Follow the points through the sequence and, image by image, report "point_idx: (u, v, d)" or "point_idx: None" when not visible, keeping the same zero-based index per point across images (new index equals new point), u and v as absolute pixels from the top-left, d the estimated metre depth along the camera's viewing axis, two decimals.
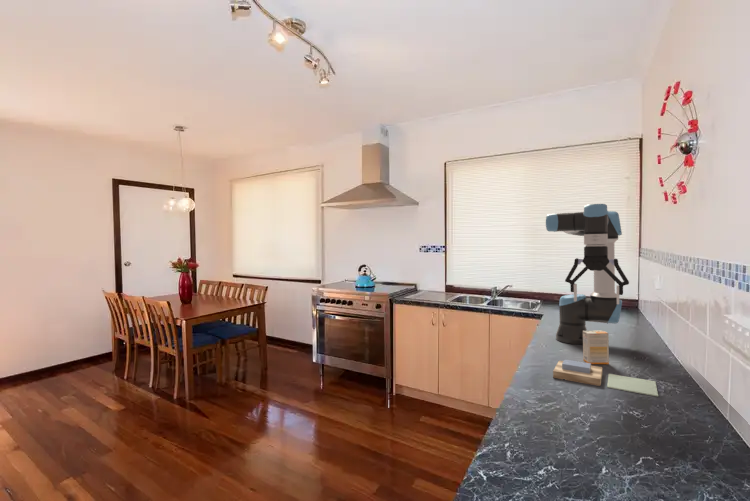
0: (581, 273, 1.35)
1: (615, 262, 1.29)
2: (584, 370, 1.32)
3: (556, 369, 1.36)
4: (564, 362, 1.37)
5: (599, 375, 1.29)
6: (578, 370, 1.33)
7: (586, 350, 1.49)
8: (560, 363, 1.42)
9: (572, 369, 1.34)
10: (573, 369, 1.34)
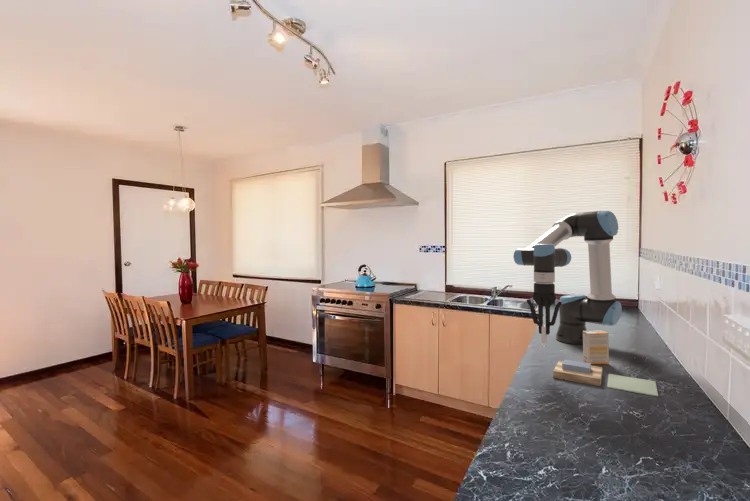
0: (540, 312, 1.41)
1: (558, 304, 1.38)
2: (584, 370, 1.32)
3: (556, 369, 1.36)
4: (564, 362, 1.37)
5: (599, 375, 1.29)
6: (578, 370, 1.33)
7: (586, 350, 1.49)
8: (560, 363, 1.42)
9: (572, 369, 1.34)
10: (573, 369, 1.34)
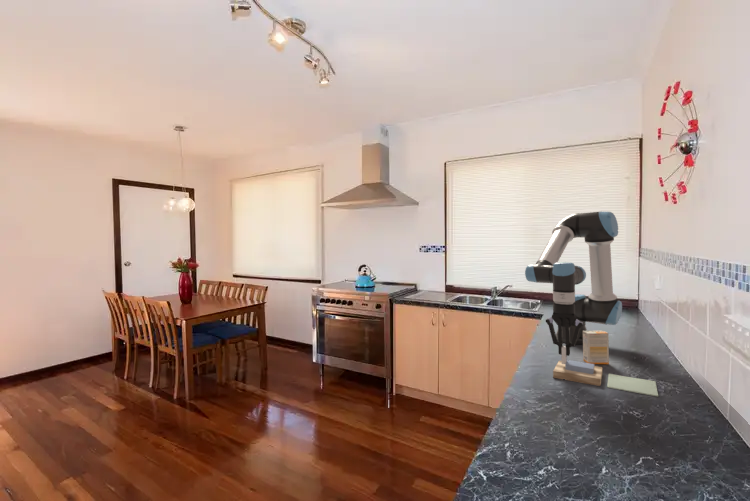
0: (560, 332, 1.38)
1: (579, 325, 1.34)
2: (588, 370, 1.31)
3: (556, 369, 1.36)
4: (567, 363, 1.37)
5: (599, 375, 1.29)
6: (581, 371, 1.32)
7: (586, 350, 1.49)
8: (560, 363, 1.42)
9: (575, 370, 1.33)
10: (576, 370, 1.33)
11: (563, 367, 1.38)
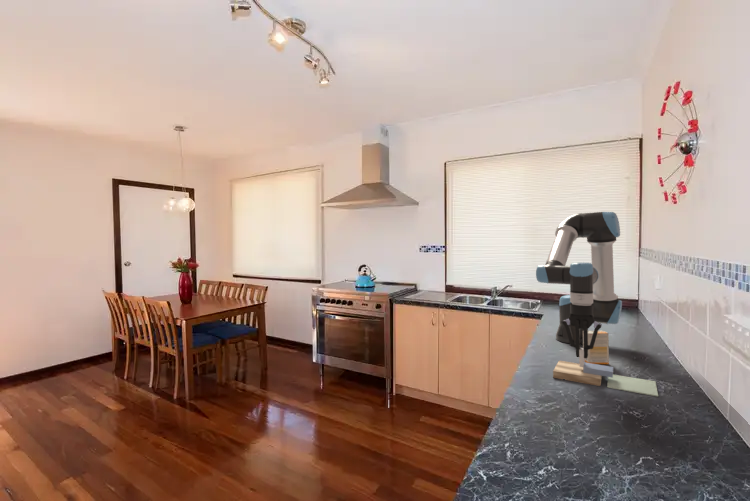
0: (577, 334, 1.34)
1: (597, 327, 1.30)
2: (607, 373, 1.28)
3: (556, 369, 1.36)
4: (585, 365, 1.33)
5: (599, 375, 1.29)
6: (600, 374, 1.29)
7: None
8: (560, 363, 1.42)
9: (594, 373, 1.30)
10: (595, 373, 1.30)
11: (563, 367, 1.38)
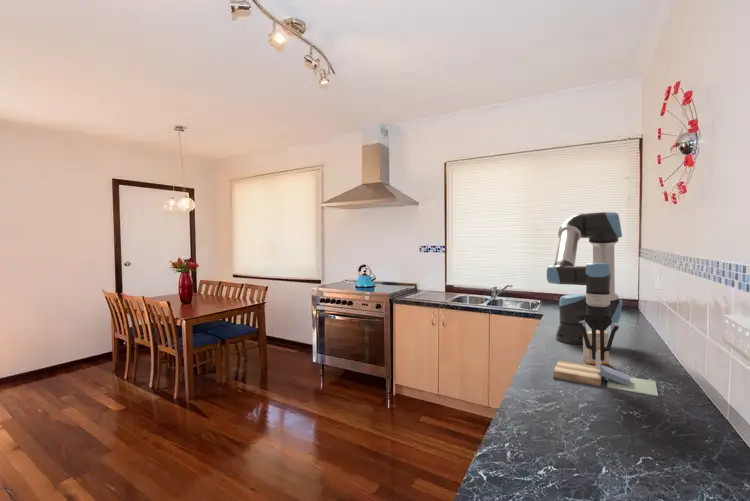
0: (594, 336, 1.31)
1: (614, 329, 1.27)
2: (624, 381, 1.25)
3: (556, 369, 1.36)
4: (602, 368, 1.30)
5: (599, 375, 1.29)
6: (617, 380, 1.26)
7: (586, 350, 1.49)
8: (560, 363, 1.42)
9: (610, 377, 1.27)
10: (611, 378, 1.27)
11: (563, 367, 1.38)
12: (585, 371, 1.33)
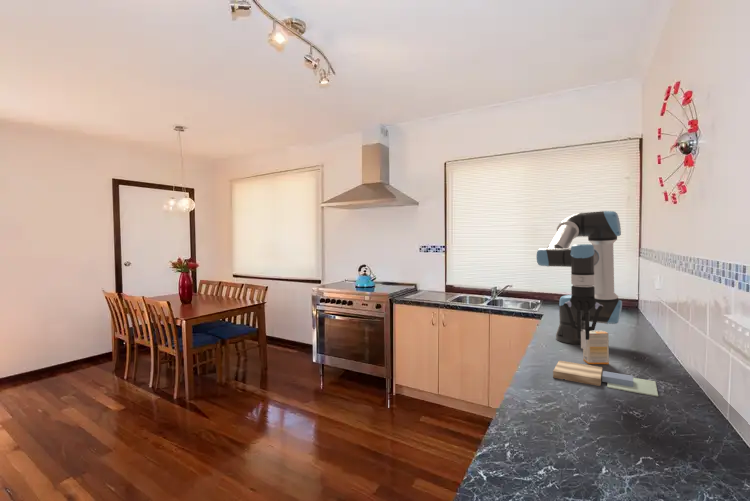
0: (579, 316, 1.34)
1: (599, 308, 1.30)
2: (627, 383, 1.24)
3: (556, 369, 1.36)
4: (604, 374, 1.30)
5: (599, 375, 1.29)
6: (620, 383, 1.25)
7: (586, 350, 1.49)
8: (560, 363, 1.42)
9: (613, 382, 1.27)
10: (615, 382, 1.26)
11: (563, 367, 1.38)
12: (585, 371, 1.33)
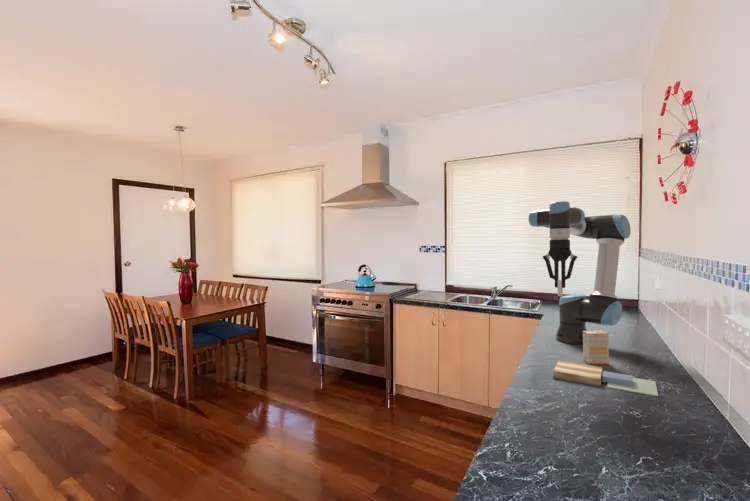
0: (556, 267, 1.49)
1: (573, 258, 1.45)
2: (627, 383, 1.24)
3: (556, 369, 1.36)
4: (604, 374, 1.30)
5: (599, 375, 1.29)
6: (620, 383, 1.25)
7: (586, 350, 1.49)
8: (560, 363, 1.42)
9: (613, 382, 1.27)
10: (615, 382, 1.26)
11: (563, 367, 1.38)
12: (585, 371, 1.33)
